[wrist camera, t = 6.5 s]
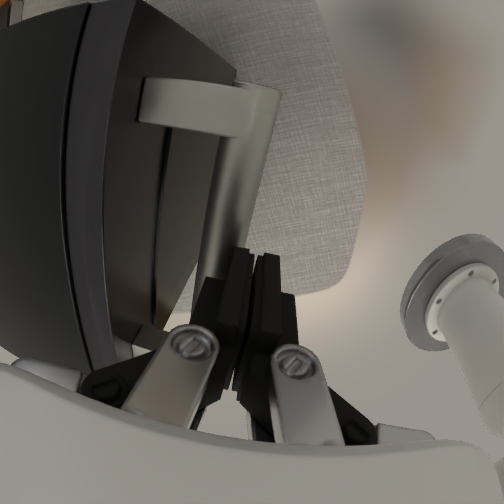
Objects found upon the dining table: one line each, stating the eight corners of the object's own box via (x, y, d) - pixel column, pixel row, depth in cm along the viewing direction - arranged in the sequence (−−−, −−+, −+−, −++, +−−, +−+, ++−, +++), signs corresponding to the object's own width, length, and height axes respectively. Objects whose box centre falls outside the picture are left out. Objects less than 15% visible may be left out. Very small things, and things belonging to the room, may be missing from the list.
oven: (215, 67, 20) (88, 1, 4) (183, 252, 29) (101, 400, 13) (56, 65, 20) (-86, 80, 4) (49, 217, 28) (-57, 301, 12)
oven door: (288, 81, 20) (302, 7, 5) (241, 267, 29) (200, 431, 13) (218, 67, 20) (90, 2, 5) (185, 253, 29) (102, 398, 13)
